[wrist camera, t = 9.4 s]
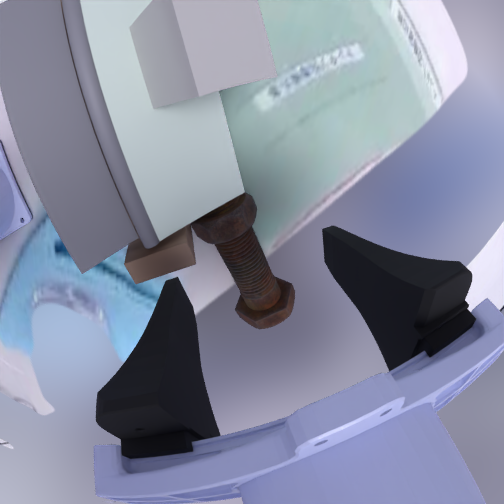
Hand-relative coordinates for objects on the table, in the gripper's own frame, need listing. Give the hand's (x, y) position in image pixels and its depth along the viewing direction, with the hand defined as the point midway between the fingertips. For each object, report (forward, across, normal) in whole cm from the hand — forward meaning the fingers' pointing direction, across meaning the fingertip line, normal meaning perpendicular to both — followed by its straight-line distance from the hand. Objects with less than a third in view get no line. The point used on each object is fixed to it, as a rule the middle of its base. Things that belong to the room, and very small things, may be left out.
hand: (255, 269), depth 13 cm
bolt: (+11, 0, +4) cm, 12 cm away
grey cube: (+6, +1, -10) cm, 12 cm away
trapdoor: (+7, +5, -10) cm, 13 cm away
